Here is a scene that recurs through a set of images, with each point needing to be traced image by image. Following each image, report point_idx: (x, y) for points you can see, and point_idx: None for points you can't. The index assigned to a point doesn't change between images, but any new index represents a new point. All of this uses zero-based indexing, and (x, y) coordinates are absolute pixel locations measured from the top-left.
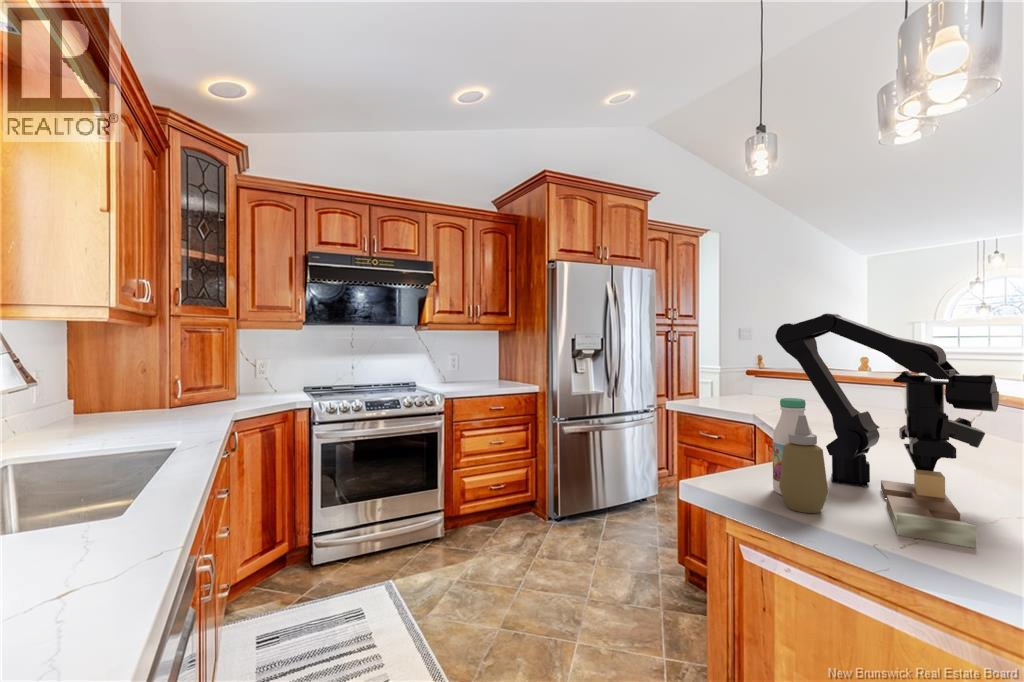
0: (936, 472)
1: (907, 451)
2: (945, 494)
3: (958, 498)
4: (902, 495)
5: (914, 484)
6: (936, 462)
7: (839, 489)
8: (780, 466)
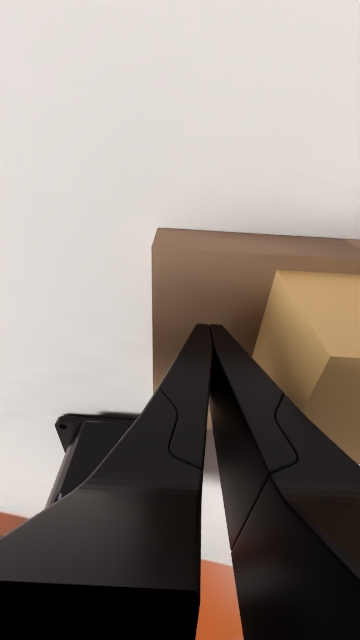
0: (351, 383)
1: (150, 598)
2: (318, 257)
3: (132, 131)
4: None
5: None
6: (351, 459)
7: (214, 462)
8: None
